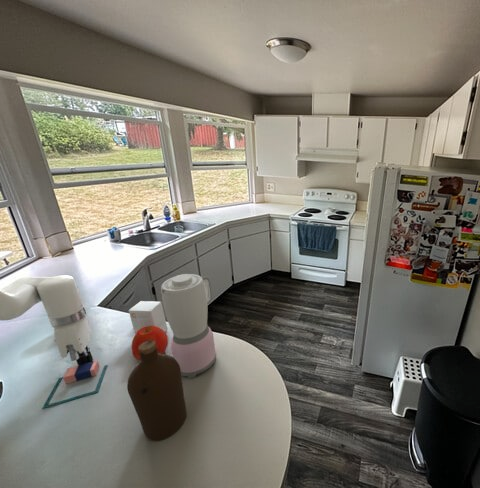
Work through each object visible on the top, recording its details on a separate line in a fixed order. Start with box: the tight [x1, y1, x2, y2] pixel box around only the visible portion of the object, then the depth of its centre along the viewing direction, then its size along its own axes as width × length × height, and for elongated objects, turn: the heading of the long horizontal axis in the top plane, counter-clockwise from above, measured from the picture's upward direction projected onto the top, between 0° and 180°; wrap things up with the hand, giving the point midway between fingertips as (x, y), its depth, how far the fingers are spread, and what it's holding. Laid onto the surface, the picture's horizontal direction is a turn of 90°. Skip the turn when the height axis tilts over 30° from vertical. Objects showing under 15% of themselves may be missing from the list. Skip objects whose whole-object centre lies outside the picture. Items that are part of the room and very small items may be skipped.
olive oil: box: [126, 341, 187, 442], centre depth 61 cm, size 11×11×25 cm
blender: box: [160, 273, 217, 379], centre depth 79 cm, size 16×12×32 cm
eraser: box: [62, 360, 100, 385], centre depth 77 cm, size 7×4×3 cm, turn 118°
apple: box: [131, 325, 169, 362], centre depth 85 cm, size 10×10×10 cm
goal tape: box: [41, 364, 108, 410], centre depth 74 cm, size 12×11×1 cm
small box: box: [128, 300, 168, 335], centre depth 93 cm, size 8×6×13 cm
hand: (86, 363), depth 80 cm, fingers closed
